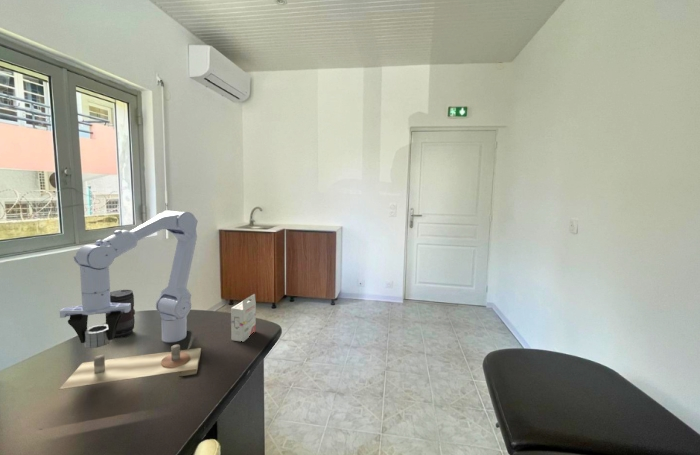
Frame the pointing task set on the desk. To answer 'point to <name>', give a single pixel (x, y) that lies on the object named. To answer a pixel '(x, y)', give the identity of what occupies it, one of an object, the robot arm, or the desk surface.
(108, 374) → the stand board
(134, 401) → the desk surface
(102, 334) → the collar
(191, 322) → the desk surface
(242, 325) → the ink cartridge box
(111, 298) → the camera lens
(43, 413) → the desk surface
